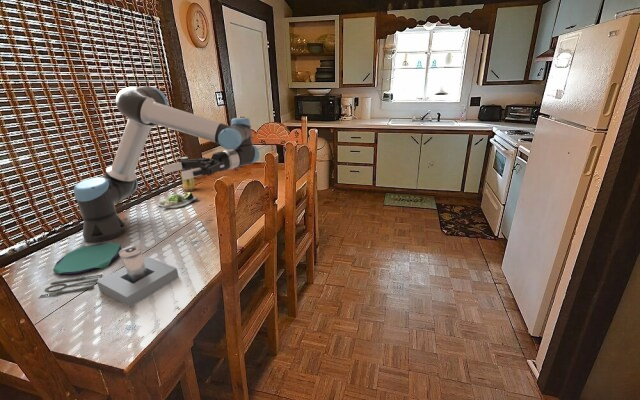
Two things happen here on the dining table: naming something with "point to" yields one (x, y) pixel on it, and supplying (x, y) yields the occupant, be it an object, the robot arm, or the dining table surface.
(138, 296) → the jig
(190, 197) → the salad plate
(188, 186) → the sauce bottle
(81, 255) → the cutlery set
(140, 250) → the bushing
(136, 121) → the robot arm
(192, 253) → the dining table surface
